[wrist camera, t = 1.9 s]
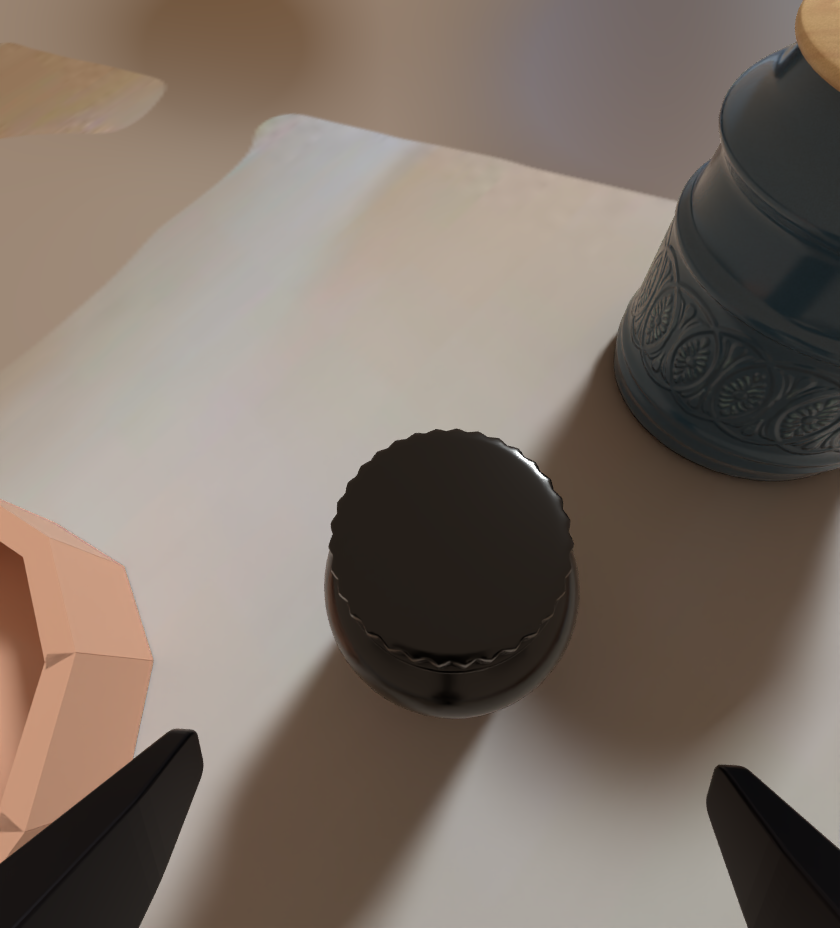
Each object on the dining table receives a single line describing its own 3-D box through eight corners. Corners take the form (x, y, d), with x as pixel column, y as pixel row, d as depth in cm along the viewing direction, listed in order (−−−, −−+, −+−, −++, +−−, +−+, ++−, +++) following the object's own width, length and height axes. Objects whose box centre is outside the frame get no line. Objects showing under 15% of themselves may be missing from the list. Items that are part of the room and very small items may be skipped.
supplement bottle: (357, 560, 21) (261, 421, 10) (500, 524, 21) (553, 353, 10) (388, 728, 18) (296, 783, 7) (554, 682, 18) (707, 669, 7)
